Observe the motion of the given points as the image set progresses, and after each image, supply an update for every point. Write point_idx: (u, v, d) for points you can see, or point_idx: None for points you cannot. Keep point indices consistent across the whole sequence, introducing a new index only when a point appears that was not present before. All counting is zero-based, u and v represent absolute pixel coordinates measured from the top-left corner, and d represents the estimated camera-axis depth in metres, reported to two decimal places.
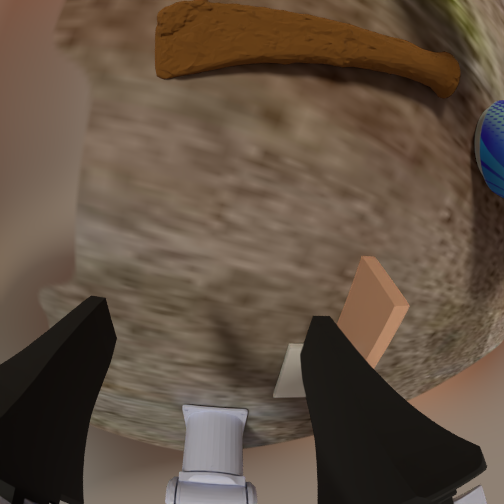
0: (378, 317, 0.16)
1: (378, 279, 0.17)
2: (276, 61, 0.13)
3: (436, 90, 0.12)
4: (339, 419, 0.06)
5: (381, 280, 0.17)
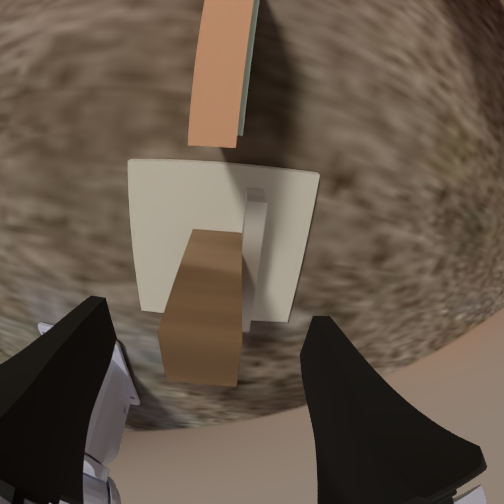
0: None
1: None
2: None
3: None
4: (339, 419, 0.06)
5: None
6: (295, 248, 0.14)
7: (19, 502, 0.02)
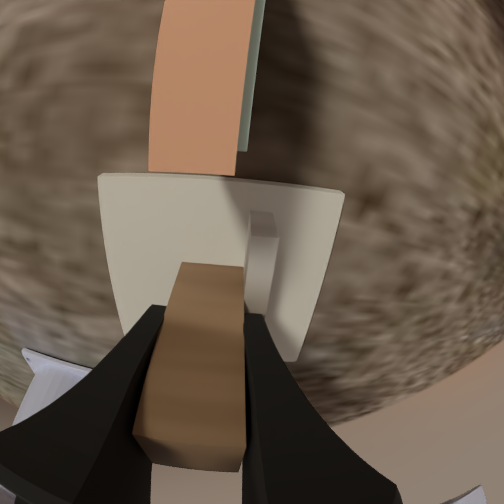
0: None
1: None
2: None
3: None
4: (249, 423, 0.06)
5: None
6: (310, 284, 0.11)
7: (19, 502, 0.02)
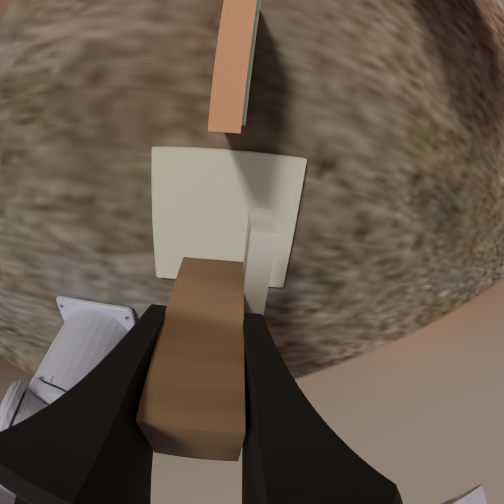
0: None
1: None
2: None
3: None
4: (249, 423, 0.06)
5: None
6: (288, 220, 0.17)
7: (19, 502, 0.02)
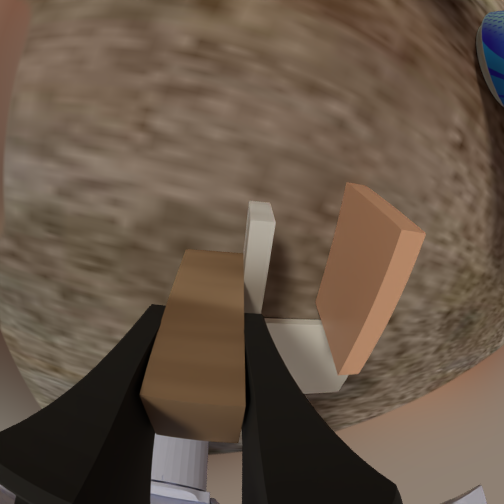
0: (376, 258, 0.10)
1: (371, 202, 0.11)
2: None
3: None
4: (249, 423, 0.06)
5: (376, 203, 0.11)
6: None
7: (19, 502, 0.02)
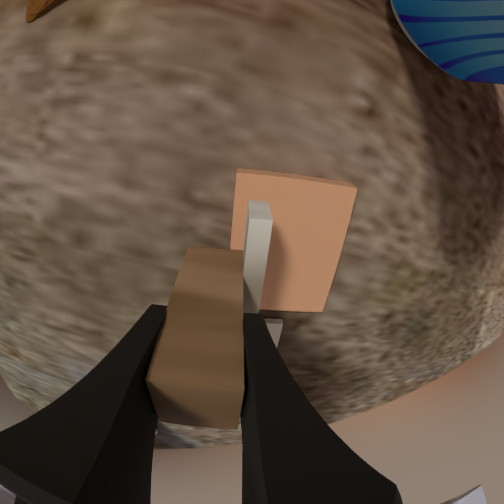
0: (332, 217, 0.14)
1: (304, 179, 0.13)
2: None
3: None
4: (249, 423, 0.06)
5: (305, 179, 0.13)
6: None
7: (19, 502, 0.02)
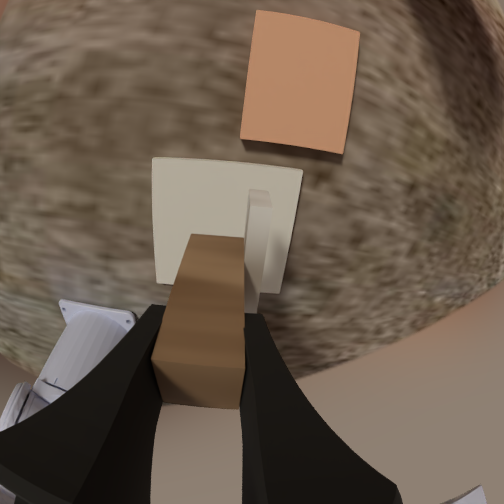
0: (342, 51, 0.12)
1: (313, 19, 0.11)
2: None
3: None
4: (249, 423, 0.06)
5: (314, 21, 0.11)
6: (284, 229, 0.18)
7: (19, 502, 0.02)
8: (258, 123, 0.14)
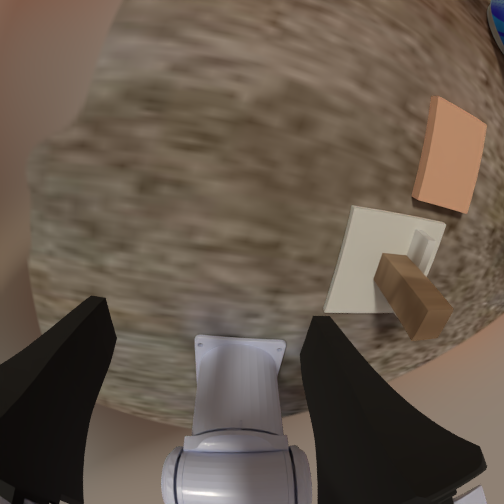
0: (477, 140, 0.14)
1: (466, 112, 0.14)
2: None
3: None
4: (339, 419, 0.06)
5: (465, 112, 0.14)
6: (427, 265, 0.20)
7: (19, 502, 0.02)
8: (430, 189, 0.17)
